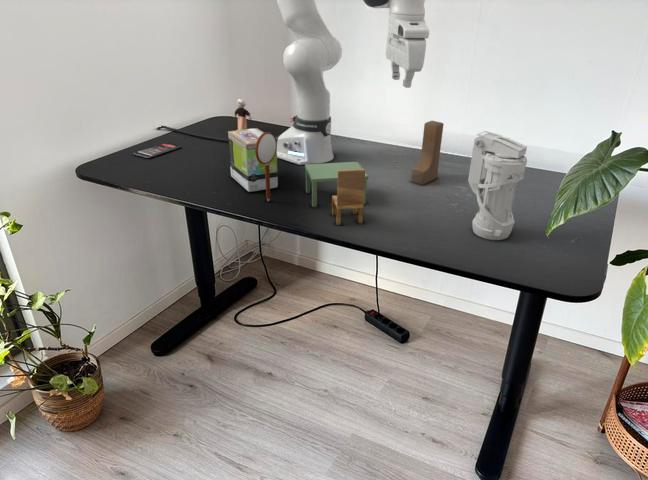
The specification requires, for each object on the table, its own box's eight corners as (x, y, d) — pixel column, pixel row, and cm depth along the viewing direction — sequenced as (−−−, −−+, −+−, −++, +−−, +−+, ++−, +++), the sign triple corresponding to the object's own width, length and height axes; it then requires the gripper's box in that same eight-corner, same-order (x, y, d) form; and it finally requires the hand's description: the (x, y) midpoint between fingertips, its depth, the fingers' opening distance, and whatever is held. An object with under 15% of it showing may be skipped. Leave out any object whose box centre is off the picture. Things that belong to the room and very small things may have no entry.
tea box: (279, 187, 164) (277, 139, 156) (248, 193, 159) (245, 144, 152) (259, 171, 175) (257, 126, 167) (230, 176, 170) (226, 130, 163)
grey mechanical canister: (517, 231, 144) (537, 138, 131) (500, 244, 137) (520, 148, 124) (473, 217, 151) (488, 128, 138) (455, 229, 144) (469, 136, 131)
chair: (331, 214, 149) (332, 161, 141) (356, 212, 151) (358, 160, 143) (337, 225, 143) (338, 171, 136) (362, 223, 145) (365, 169, 137)
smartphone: (180, 145, 192) (147, 156, 181) (181, 147, 192) (147, 158, 181) (166, 141, 195) (132, 152, 184) (166, 143, 196) (132, 154, 184)
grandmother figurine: (232, 132, 210) (229, 99, 204) (235, 129, 214) (233, 97, 207) (251, 134, 209) (249, 100, 203) (254, 131, 213) (252, 98, 206)
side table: (305, 191, 162) (304, 164, 158) (356, 188, 166) (357, 161, 161) (312, 207, 152) (312, 179, 148) (366, 204, 156) (368, 176, 151)
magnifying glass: (275, 195, 159) (273, 128, 148) (280, 197, 158) (277, 129, 148) (256, 205, 152) (252, 135, 142) (261, 207, 151) (257, 136, 141)
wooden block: (422, 185, 170) (428, 128, 160) (410, 181, 172) (416, 125, 163) (437, 178, 176) (444, 122, 166) (425, 174, 178) (431, 120, 169)
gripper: (382, 20, 143) (378, 75, 150) (406, 31, 126) (401, 92, 133) (404, 21, 145) (400, 75, 152) (432, 31, 128) (425, 91, 135)
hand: (401, 83), depth 142 cm, fingers open, 8 cm apart
